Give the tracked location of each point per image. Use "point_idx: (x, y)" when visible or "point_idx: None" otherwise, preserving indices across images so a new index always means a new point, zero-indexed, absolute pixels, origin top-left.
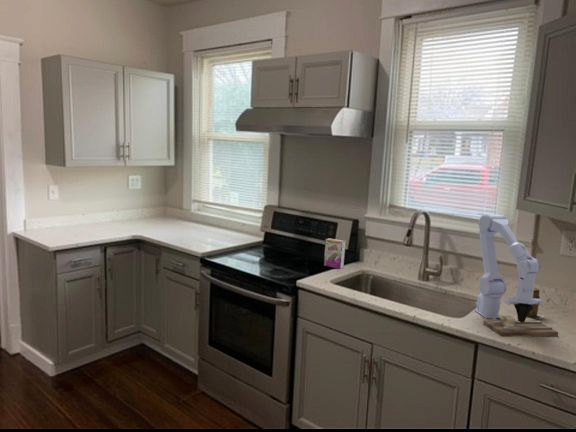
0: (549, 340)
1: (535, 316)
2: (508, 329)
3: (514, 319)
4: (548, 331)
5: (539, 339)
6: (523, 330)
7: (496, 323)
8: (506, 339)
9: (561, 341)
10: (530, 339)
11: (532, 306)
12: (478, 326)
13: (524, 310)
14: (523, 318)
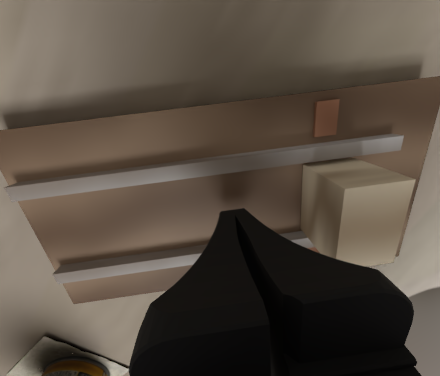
0: (106, 27)
1: (55, 362)
2: (354, 138)
3: (344, 187)
4: (61, 139)
5: (179, 42)
6: (253, 134)
7: None
8: (430, 16)
9: (8, 13)
10: (250, 34)
11: (149, 356)
12: (433, 210)
13: (289, 264)
14: (242, 219)
